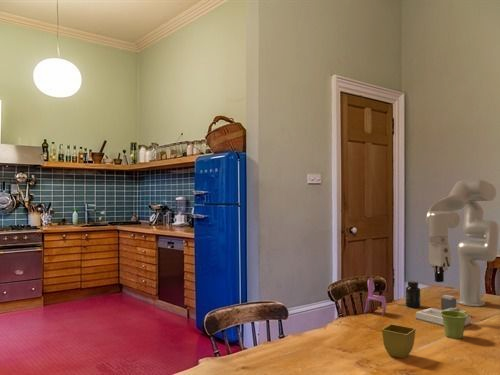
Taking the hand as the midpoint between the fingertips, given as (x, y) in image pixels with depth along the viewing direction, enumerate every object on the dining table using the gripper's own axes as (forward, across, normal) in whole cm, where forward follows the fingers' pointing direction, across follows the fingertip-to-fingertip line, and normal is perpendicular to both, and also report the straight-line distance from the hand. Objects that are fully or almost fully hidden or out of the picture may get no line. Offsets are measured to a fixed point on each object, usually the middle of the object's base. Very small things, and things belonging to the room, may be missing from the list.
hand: (439, 281), depth 190 cm
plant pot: (+16, -23, +10) cm, 30 cm away
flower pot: (+16, -37, +41) cm, 57 cm away
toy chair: (+16, +13, +24) cm, 32 cm away
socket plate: (+16, -5, +2) cm, 17 cm away
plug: (+16, +6, -8) cm, 19 cm away
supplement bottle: (+16, +20, +1) cm, 26 cm away
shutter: (+13, -10, 0) cm, 16 cm away
